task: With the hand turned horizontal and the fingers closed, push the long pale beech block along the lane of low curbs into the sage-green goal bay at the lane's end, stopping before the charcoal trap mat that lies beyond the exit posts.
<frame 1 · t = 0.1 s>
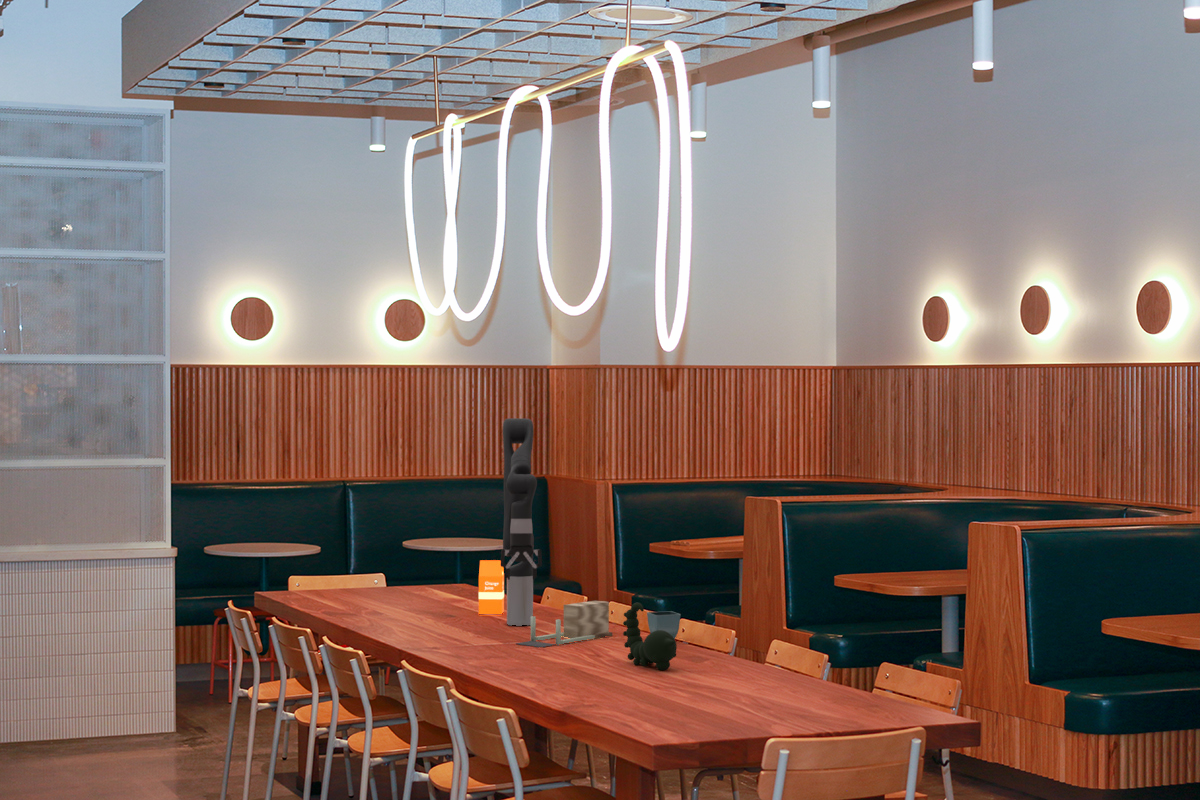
hand: (521, 579, 469), 17 cm above the table, tool pointing down, fingers open, 8 cm apart
pit mat: (535, 644, 436), on the table
flower pot: (663, 641, 446), on the table
orange juice: (491, 614, 510), on the table
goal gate: (566, 639, 448), on the table
lane: (586, 636, 455), on the table
toy figurine: (650, 667, 396), on the table
beech block: (586, 636, 455), on the table
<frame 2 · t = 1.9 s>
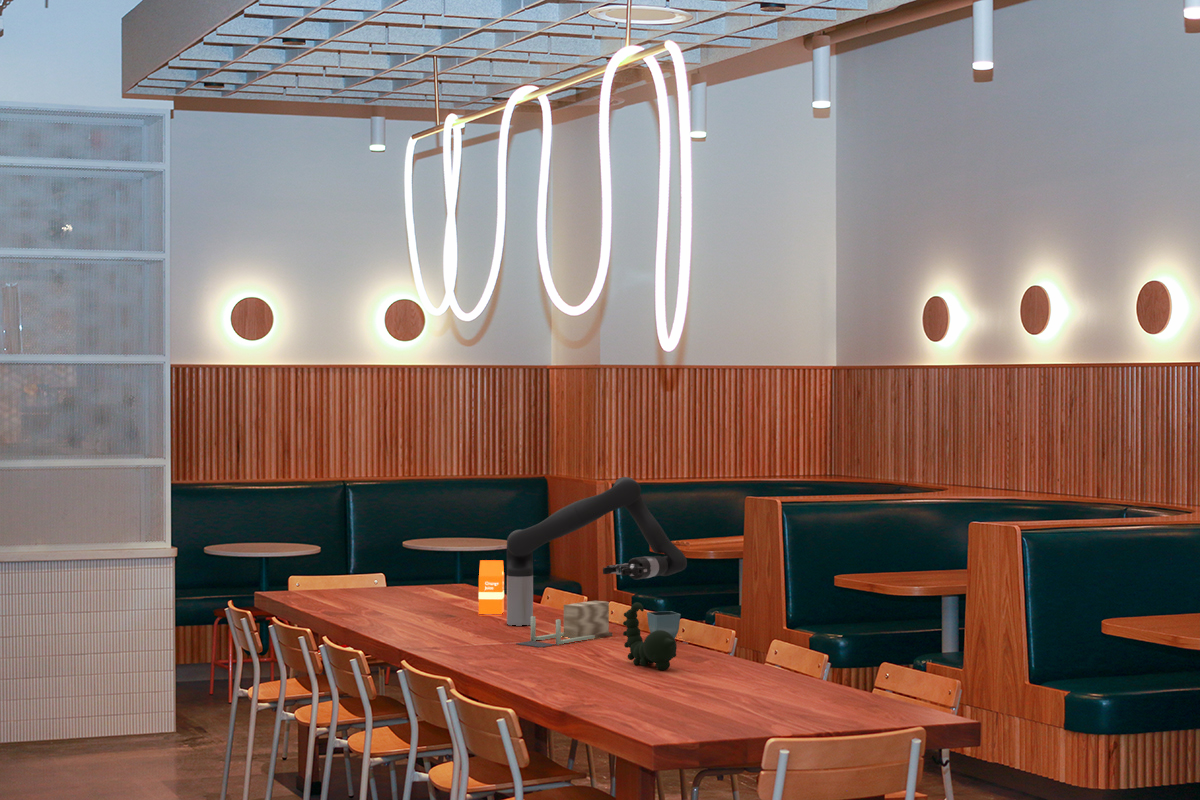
hand: (612, 571, 466), 20 cm above the table, tool horizontal, fingers open, 8 cm apart
nothing on the table moved.
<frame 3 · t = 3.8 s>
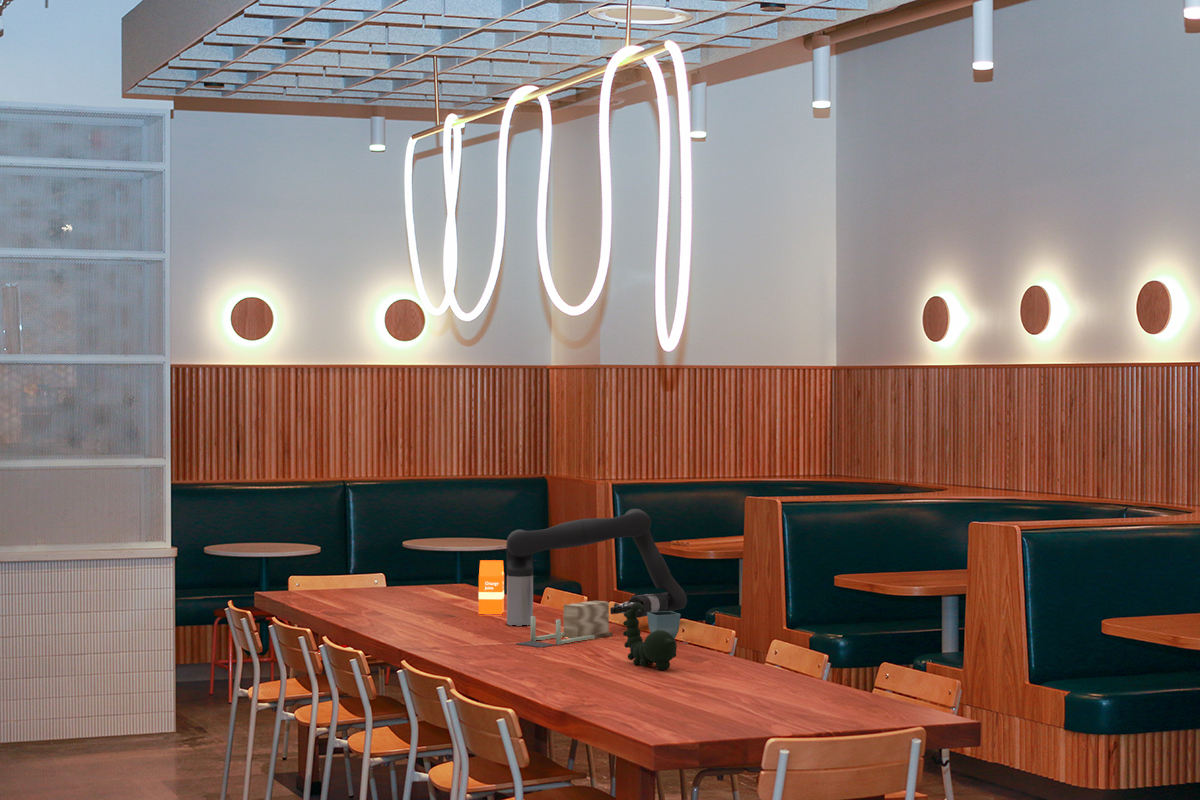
hand: (612, 610, 465), 7 cm above the table, tool horizontal, fingers closed
nothing on the table moved.
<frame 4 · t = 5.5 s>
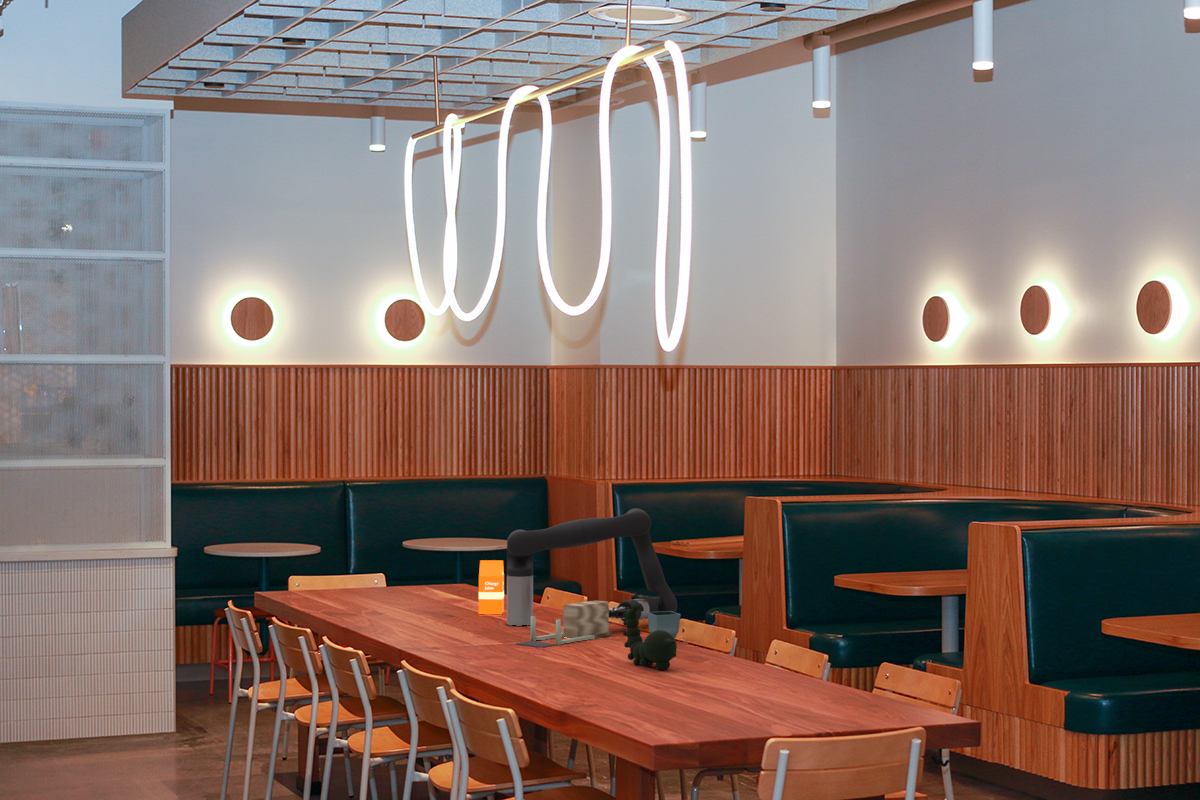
hand: (601, 615, 461), 6 cm above the table, tool horizontal, fingers closed
beech block: (586, 636, 455), on the table, touching gripper
everything else where it was.
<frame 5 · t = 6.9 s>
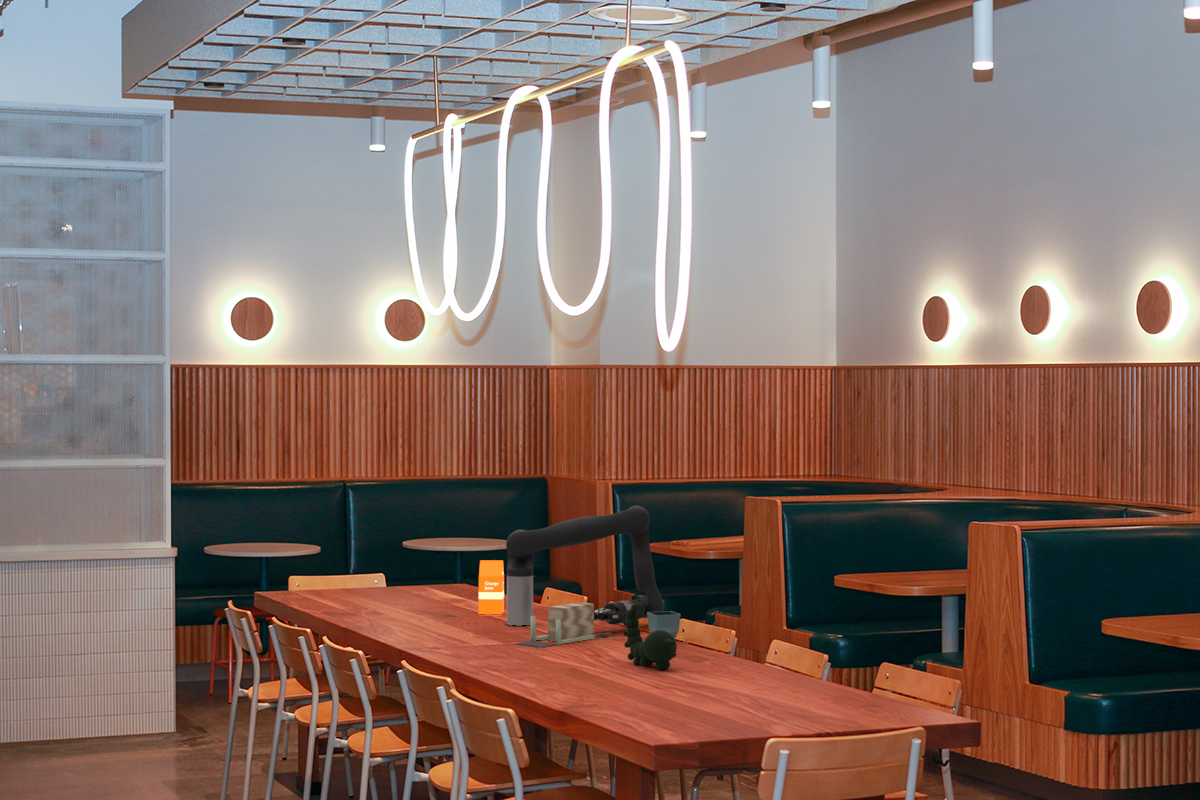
hand: (586, 617, 455), 6 cm above the table, tool horizontal, fingers closed
beech block: (571, 638, 449), on the table, touching gripper
everything else where it was.
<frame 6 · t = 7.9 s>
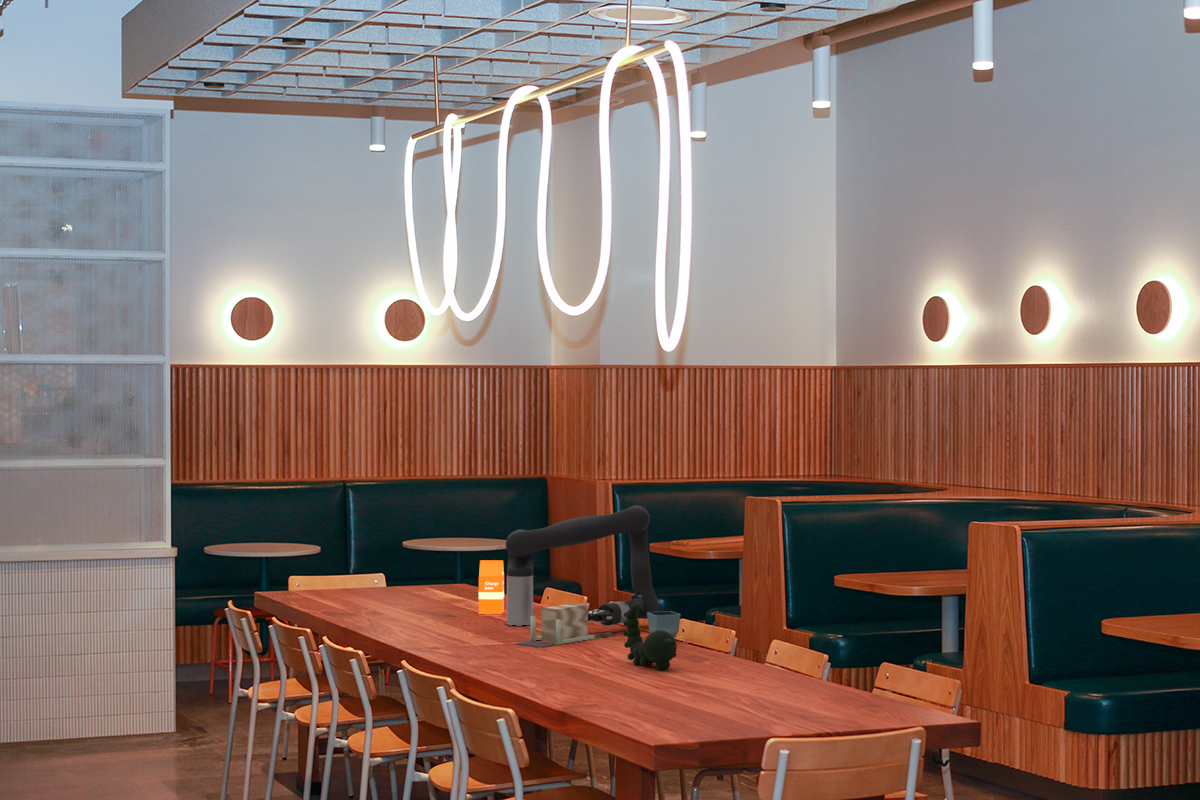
hand: (580, 618, 453), 6 cm above the table, tool horizontal, fingers closed
beech block: (564, 640, 447), on the table, touching gripper
everything else where it was.
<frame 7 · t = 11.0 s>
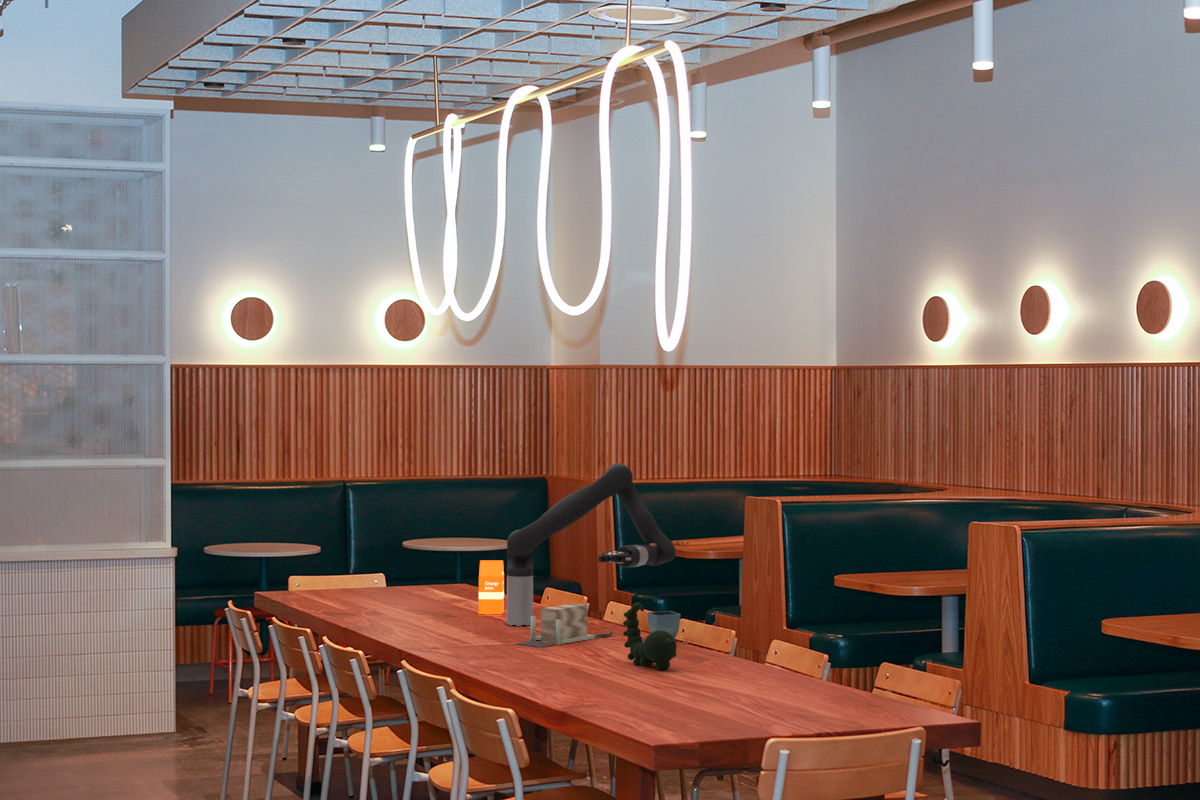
hand: (600, 559, 461), 25 cm above the table, tool horizontal, fingers closed
beech block: (564, 640, 447), on the table
everything else where it was.
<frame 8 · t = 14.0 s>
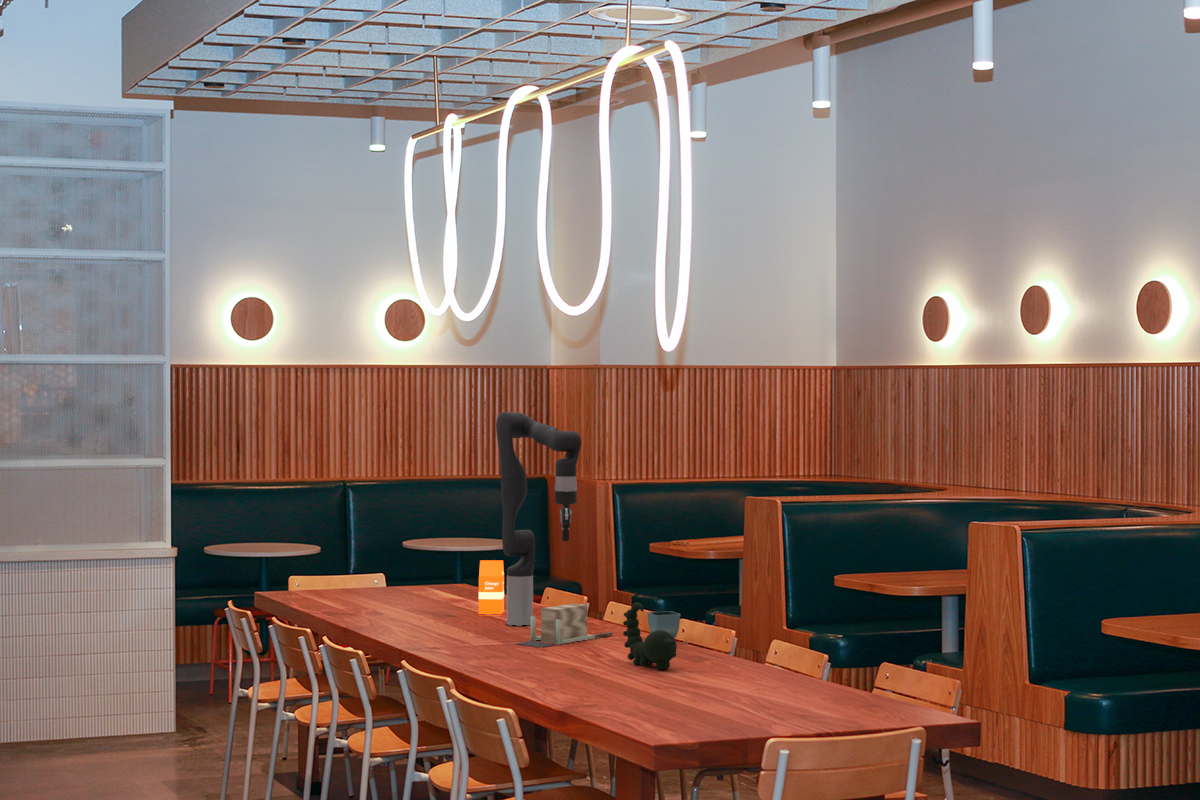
hand: (565, 540, 464), 31 cm above the table, tool pointing down, fingers closed
nothing on the table moved.
at the end: beech block 1.2 cm from the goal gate (horizontally); beech block tilted 0°; beech block touching table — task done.
